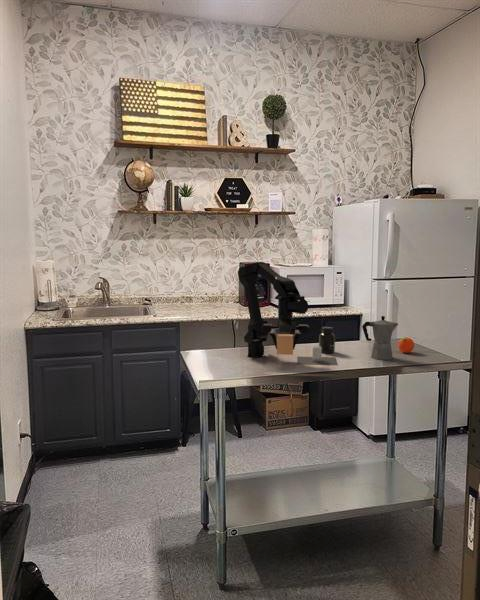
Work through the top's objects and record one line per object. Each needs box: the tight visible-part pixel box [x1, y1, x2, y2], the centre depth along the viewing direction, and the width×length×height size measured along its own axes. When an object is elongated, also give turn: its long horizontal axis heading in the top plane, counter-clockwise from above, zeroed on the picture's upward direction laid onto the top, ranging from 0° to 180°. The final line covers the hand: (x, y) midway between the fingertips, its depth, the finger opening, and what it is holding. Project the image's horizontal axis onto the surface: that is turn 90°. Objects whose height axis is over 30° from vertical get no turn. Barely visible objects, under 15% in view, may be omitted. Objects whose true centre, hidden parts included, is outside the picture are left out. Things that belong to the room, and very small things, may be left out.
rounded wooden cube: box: [276, 333, 294, 356], centre depth 207 cm, size 6×6×7 cm
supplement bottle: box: [318, 326, 336, 355], centre depth 226 cm, size 7×7×12 cm
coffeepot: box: [361, 315, 399, 361], centre depth 219 cm, size 15×9×18 cm, turn 93°
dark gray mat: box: [296, 355, 339, 366], centre depth 210 cm, size 16×14×1 cm
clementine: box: [397, 336, 415, 354], centre depth 229 cm, size 8×7×7 cm
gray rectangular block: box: [312, 345, 322, 362], centre depth 210 cm, size 3×3×6 cm
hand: (285, 349), depth 208 cm, fingers closed on rounded wooden cube, 6 cm apart
